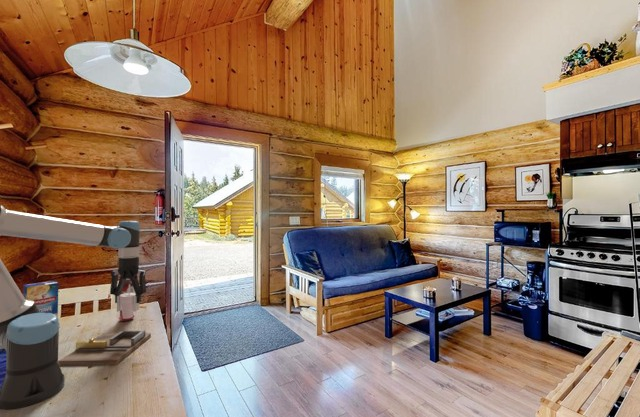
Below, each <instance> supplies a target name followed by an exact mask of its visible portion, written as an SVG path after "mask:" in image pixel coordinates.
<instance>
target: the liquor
mask: <svg viewBox="0 0 640 417" xmlns="http://www.w3.org/2000/svg"><path fill="white" fill-rule="evenodd" d="M129 285H130V293H135V291H134V288H133V284H132V281H130V279H128V278H127V279H126V280H125V283H124V286H123V289H122V292H121V293H122V294H125V293H129ZM120 295H121V294H120ZM134 313H135V312H134ZM134 313H133V317H132V318H128V319H123V316H122V310H121V311H119V317H118V320H119V321H121V322H129V320H130V321H131V320H132V319H133V318H135V315H134Z"/></svg>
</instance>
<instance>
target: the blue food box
mask: <svg viewBox="0 0 640 417" xmlns="http://www.w3.org/2000/svg"><path fill="white" fill-rule="evenodd" d="M22 295H23V296H24V298H25V299H26V300H32V301H34V302H35V304H36V306H37V307H38V309H39V311H40V312H41V313H52V314H54V315H56V316H57V317H58V316H59V315H58V314H59V312H58V311H59V282H58V281H55V280H50V281H48V280H47V281H42V282H35V283H29V284H23V289H22ZM58 318H59V317H58Z"/></svg>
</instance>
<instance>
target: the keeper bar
mask: <svg viewBox="0 0 640 417" xmlns="http://www.w3.org/2000/svg"><path fill="white" fill-rule="evenodd" d="M95 338H96V337H92V338H91V337H90V338H89V339H88V340H77V341H76V342H75V350H76V349H106V348H107V341H94V340H95Z"/></svg>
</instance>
